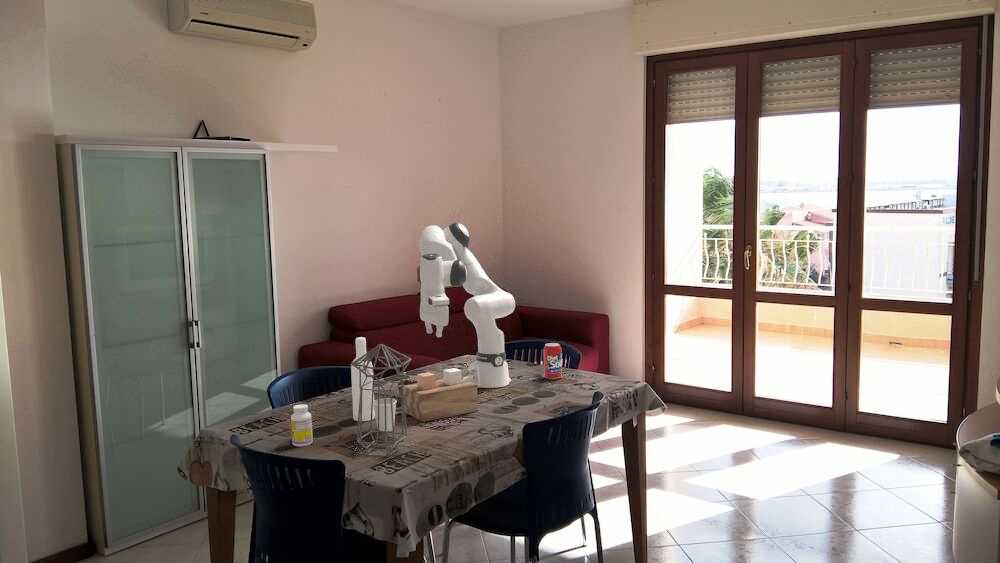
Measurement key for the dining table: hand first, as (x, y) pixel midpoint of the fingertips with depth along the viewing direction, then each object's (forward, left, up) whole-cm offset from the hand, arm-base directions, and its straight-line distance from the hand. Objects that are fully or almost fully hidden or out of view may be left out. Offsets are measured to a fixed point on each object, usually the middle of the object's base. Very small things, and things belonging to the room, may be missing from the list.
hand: (434, 335), depth 286 cm
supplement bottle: (+6, -53, -30) cm, 61 cm away
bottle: (-9, -25, -30) cm, 40 cm away
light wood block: (0, +2, -29) cm, 29 cm away
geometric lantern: (+30, -34, -30) cm, 54 cm away
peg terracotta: (0, -4, -23) cm, 24 cm away
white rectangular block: (0, +7, -23) cm, 25 cm away
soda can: (-16, +66, -30) cm, 74 cm away
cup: (-20, -2, -30) cm, 36 cm away
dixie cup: (+8, -24, -30) cm, 39 cm away
